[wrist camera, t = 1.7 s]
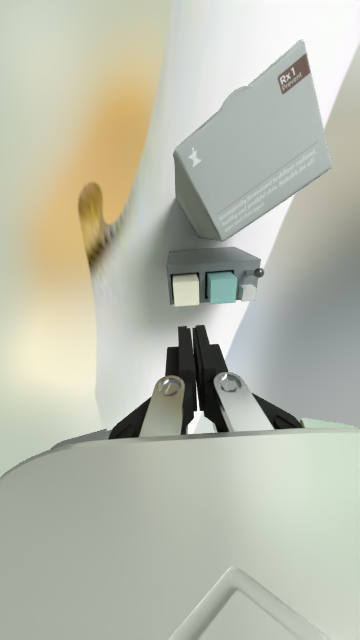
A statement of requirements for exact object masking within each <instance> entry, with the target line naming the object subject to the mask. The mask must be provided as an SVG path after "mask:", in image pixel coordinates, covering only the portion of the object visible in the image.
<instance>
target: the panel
mask: <svg viewBox="0 0 360 640" xmlns="http://www.w3.org/2000/svg"><path fill="white" fill-rule="evenodd" d="M260 261H261V259H259V258H257V257H255V256H253V255H251V254H249V253H247V252H244V251H242V250H240V249H238V248H236V247H225V248H211V249H198V250H184V251H170V252H169V257H168V262H167V275H168V285H169V295H170V305H171V304H175V303H174V291H173V274H185V273H196V274H197V277H198V280H199V303H201V302H210V301H209V299H208V296H207V294H206V272H213V271H227V270H229V271H230V272H231V273H232V274H234V275H235V276H236V277H237V289H236V300H241V299H240V298H239V297H238V296H239V285H250V284H252V285H253V286H254V287H256V288H257V282H258V278H257V277H255V276H252V275H245V270H255V269H257V268H260Z"/></svg>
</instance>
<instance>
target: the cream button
mask: <svg viewBox="0 0 360 640" xmlns="http://www.w3.org/2000/svg"><path fill="white" fill-rule="evenodd" d="M173 291H174V303H175V307H176V306H191V305H199V280H198V277H197V274H196V273H185V274H173Z"/></svg>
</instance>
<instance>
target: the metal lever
mask: <svg viewBox="0 0 360 640" xmlns="http://www.w3.org/2000/svg"><path fill="white" fill-rule="evenodd" d="M245 275H252V276H255V277H257V278H260V277H262V276H263V275H264V270H263V269H262V268H257V269H255V270H245Z"/></svg>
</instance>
